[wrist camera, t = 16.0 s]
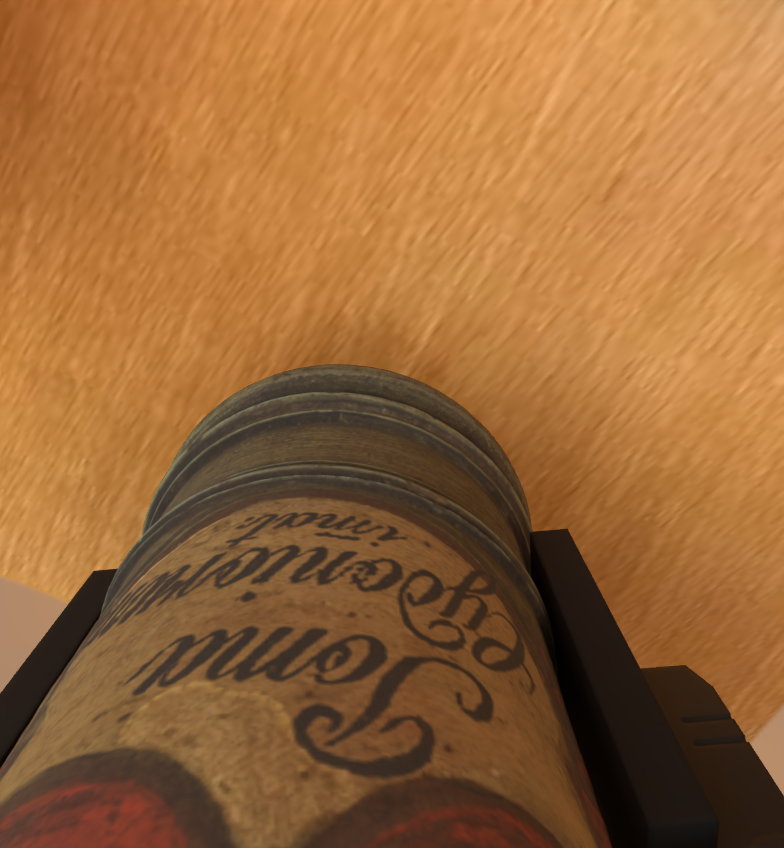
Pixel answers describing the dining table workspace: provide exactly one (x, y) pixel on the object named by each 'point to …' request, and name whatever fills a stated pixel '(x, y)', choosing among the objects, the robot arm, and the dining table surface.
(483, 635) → the container
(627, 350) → the dining table surface
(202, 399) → the dining table surface
